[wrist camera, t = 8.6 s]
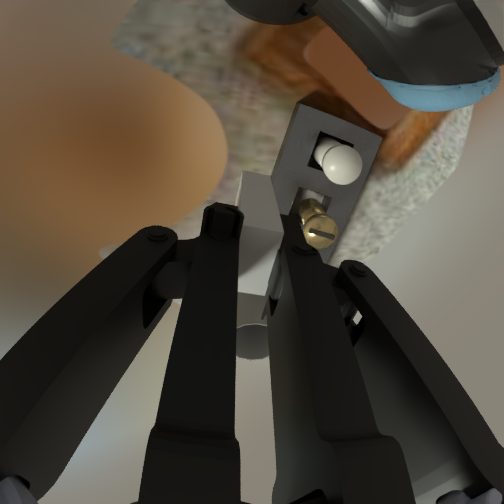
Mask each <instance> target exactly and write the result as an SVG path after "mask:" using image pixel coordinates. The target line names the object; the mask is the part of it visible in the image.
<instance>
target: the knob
mask: <svg viewBox="0 0 504 504" xmlns="http://www.w3.org/2000/svg"><path fill="white" fill-rule="evenodd" d="M312 155H313V157H314V159H315V160H316V161H317V162H318V163H319V165H320V166H321V167H322V168H323V171H324V173H325V175H326V176H327V177H328V178H329V179H330V180H331V181H332V182H334V183H336V184H340V185H345V184H349V183H351V182H353V181H355V180H356V179H357V178H358V176H359V175H360V173H361V170H362V160H361V157H360V155H359V153H358V152H357V151H356V150H355V149H353V148H351V147H350V146H347V145H343V144H340V143H339V142H337V141H336V140H334V139H332V138H330V137H323V138H320V139H318V140H317V141H316V143H315V146H314V148H313V151H312Z"/></svg>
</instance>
